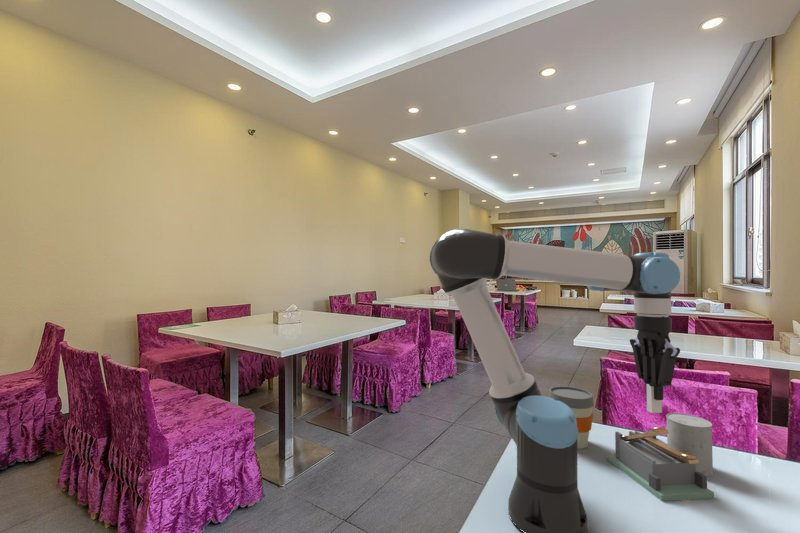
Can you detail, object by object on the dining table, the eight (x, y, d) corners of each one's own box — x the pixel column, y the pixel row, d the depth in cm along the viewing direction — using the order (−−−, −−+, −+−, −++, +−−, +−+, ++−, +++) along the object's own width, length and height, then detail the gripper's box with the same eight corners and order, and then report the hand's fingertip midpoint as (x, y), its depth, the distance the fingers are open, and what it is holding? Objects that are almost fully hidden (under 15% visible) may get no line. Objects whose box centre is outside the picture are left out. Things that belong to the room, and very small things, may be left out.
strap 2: (688, 465, 81) (687, 457, 81) (638, 439, 96) (638, 433, 96) (699, 464, 82) (698, 457, 82) (648, 439, 96) (647, 433, 97)
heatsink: (661, 500, 79) (660, 463, 79) (607, 459, 97) (607, 429, 97) (714, 497, 80) (713, 461, 81) (651, 457, 98) (650, 428, 98)
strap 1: (659, 435, 83) (656, 427, 83) (620, 441, 95) (618, 435, 96) (670, 434, 83) (667, 426, 84) (630, 441, 96) (627, 434, 96)
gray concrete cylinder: (661, 454, 100) (660, 411, 100) (702, 460, 97) (701, 415, 97) (675, 472, 91) (674, 424, 91) (721, 479, 88) (720, 429, 88)
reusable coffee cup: (542, 432, 114) (541, 385, 115) (581, 432, 114) (580, 386, 114) (559, 451, 101) (559, 399, 102) (603, 452, 101) (602, 399, 102)
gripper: (690, 317, 81) (692, 422, 80) (646, 312, 94) (647, 401, 93) (660, 318, 80) (662, 423, 79) (619, 312, 93) (621, 402, 92)
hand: (654, 411), depth 86 cm, fingers closed
